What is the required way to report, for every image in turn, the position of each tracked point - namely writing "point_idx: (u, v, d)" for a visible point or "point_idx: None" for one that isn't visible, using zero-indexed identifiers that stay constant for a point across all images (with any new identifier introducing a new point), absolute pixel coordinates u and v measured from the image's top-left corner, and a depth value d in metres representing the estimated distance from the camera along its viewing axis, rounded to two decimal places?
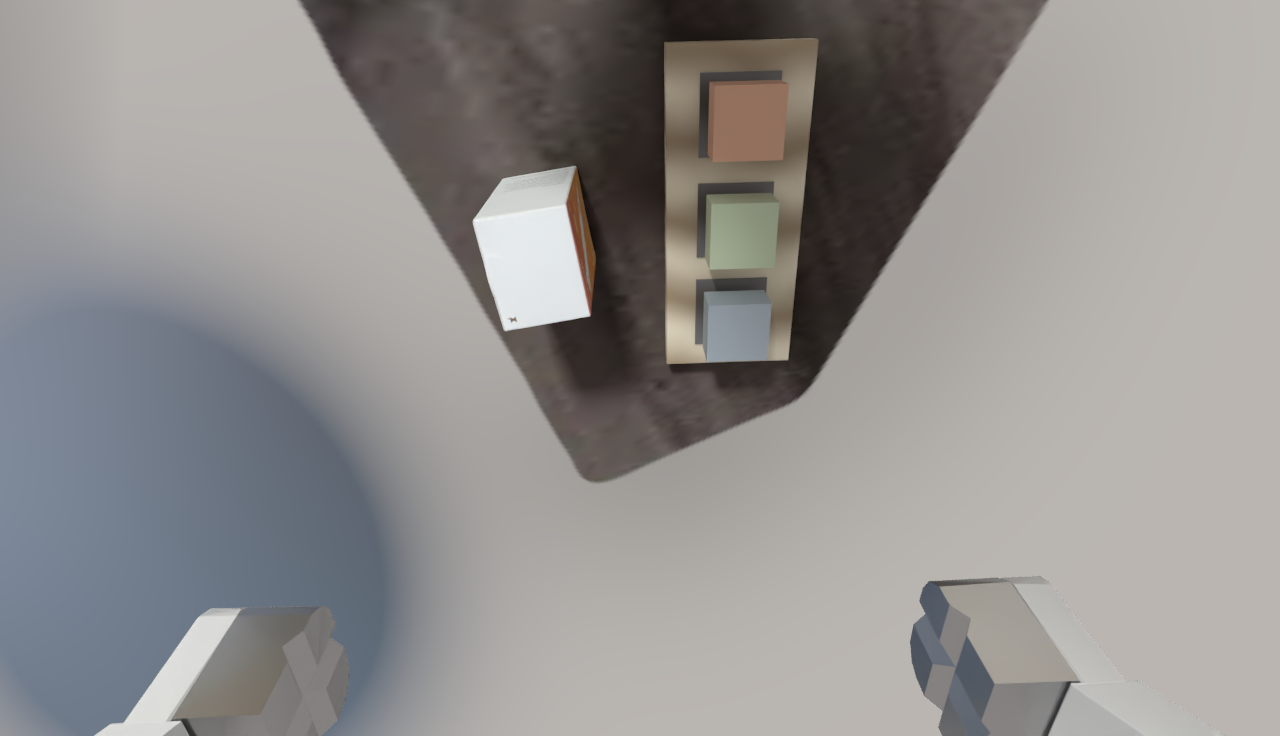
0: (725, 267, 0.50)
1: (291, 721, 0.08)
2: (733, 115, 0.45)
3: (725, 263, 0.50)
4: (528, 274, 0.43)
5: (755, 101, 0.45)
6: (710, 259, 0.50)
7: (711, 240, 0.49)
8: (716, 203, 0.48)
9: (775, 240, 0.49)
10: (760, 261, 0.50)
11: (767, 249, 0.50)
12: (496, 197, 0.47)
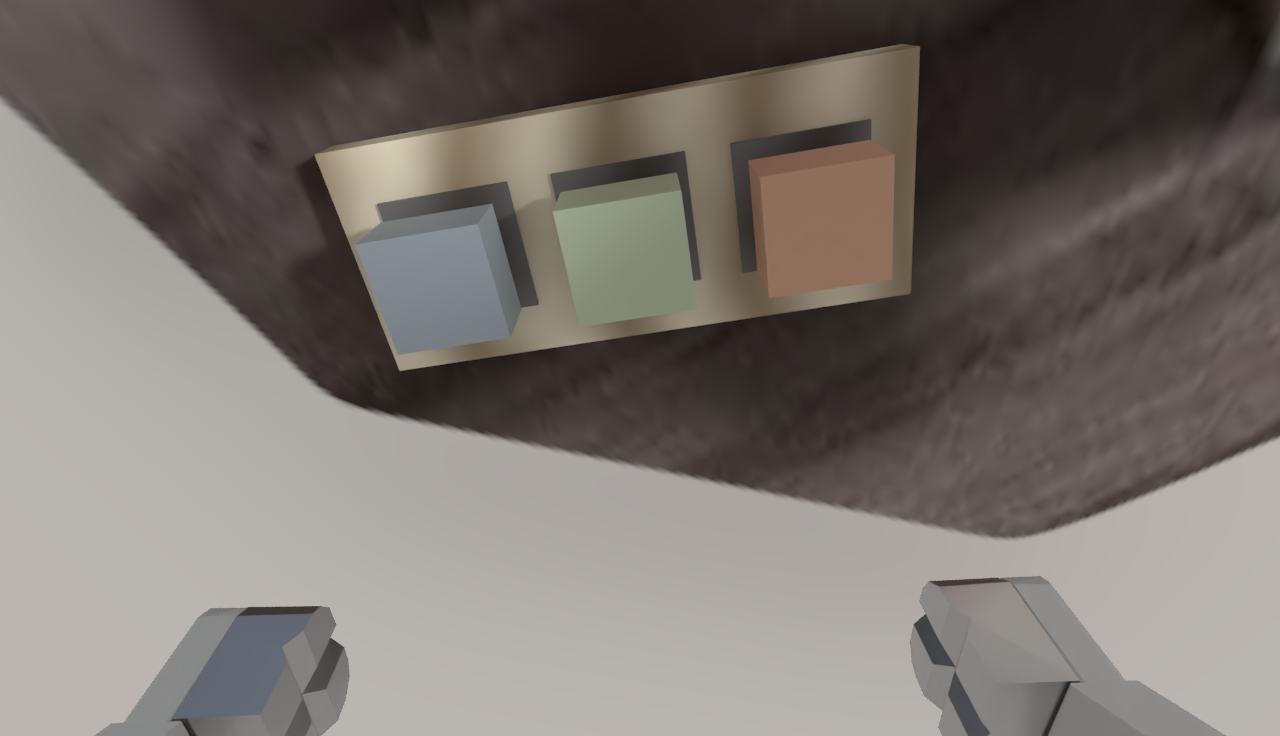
0: (563, 241, 0.26)
1: (291, 721, 0.08)
2: (843, 198, 0.25)
3: (570, 239, 0.26)
4: None
5: (865, 231, 0.26)
6: (573, 209, 0.25)
7: (611, 204, 0.25)
8: None
9: (629, 317, 0.28)
10: (586, 301, 0.27)
11: (609, 308, 0.27)
12: None
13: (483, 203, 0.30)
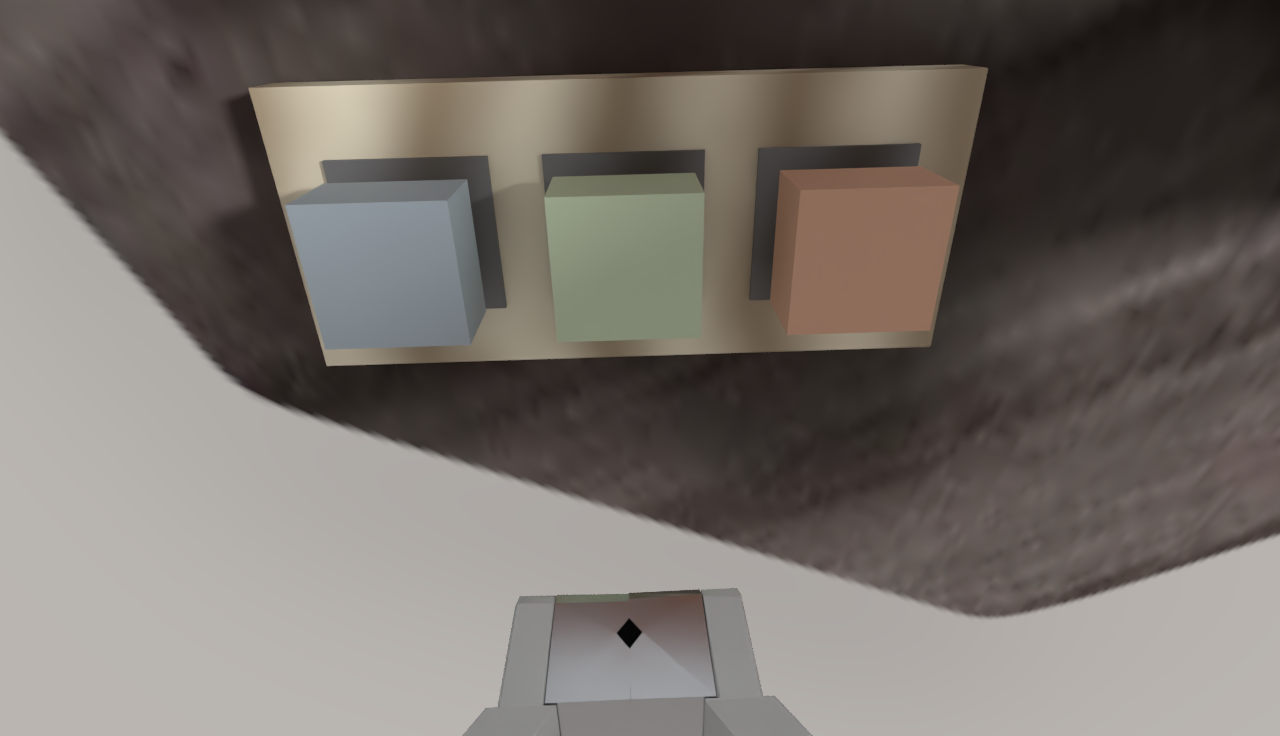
0: (551, 235, 0.21)
1: None
2: (891, 229, 0.21)
3: (561, 235, 0.21)
4: None
5: (910, 271, 0.22)
6: (569, 198, 0.21)
7: (617, 198, 0.20)
8: None
9: (618, 338, 0.23)
10: (570, 312, 0.22)
11: (597, 324, 0.23)
12: None
13: (455, 178, 0.24)
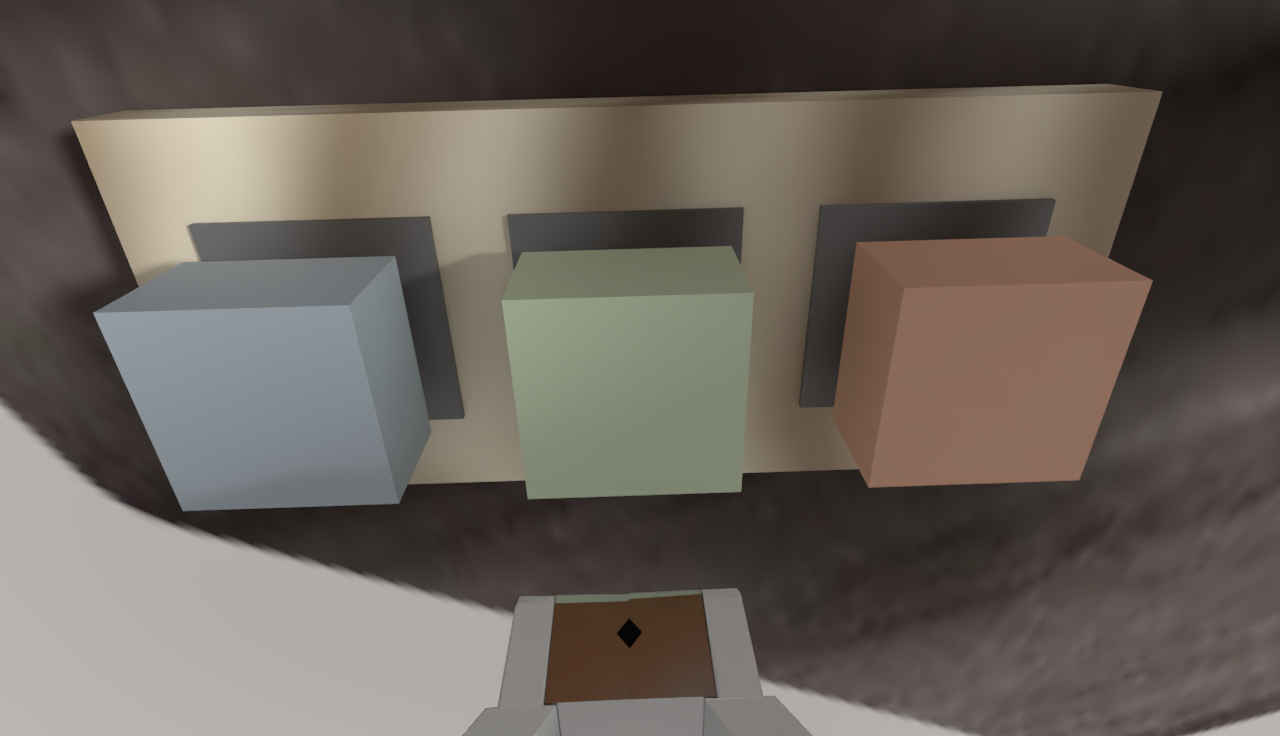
0: (515, 355, 0.14)
1: None
2: (1039, 343, 0.14)
3: (530, 354, 0.14)
4: None
5: (1060, 401, 0.14)
6: (541, 300, 0.13)
7: (617, 300, 0.13)
8: None
9: (619, 493, 0.15)
10: (545, 459, 0.15)
11: (587, 476, 0.15)
12: None
13: (384, 248, 0.17)
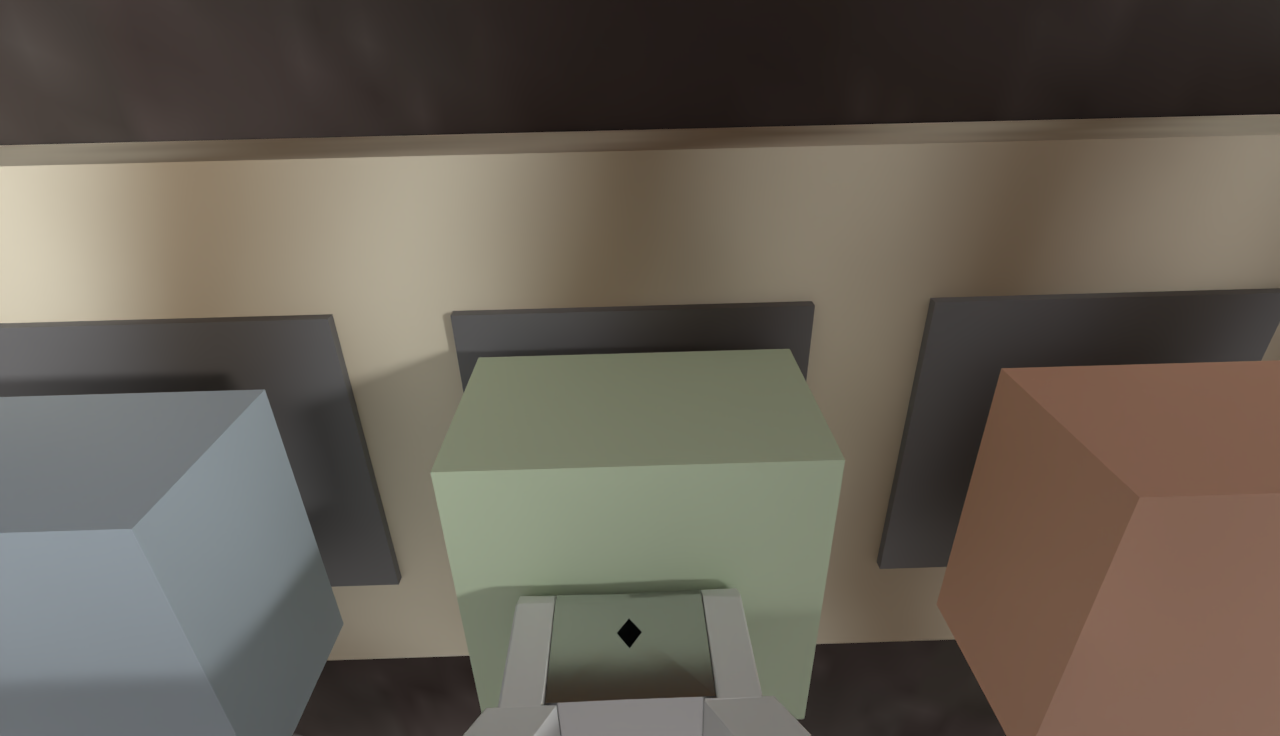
0: (456, 548, 0.08)
1: None
2: None
3: (481, 546, 0.08)
4: None
5: None
6: (497, 471, 0.08)
7: (621, 472, 0.08)
8: None
9: None
10: None
11: None
12: None
13: (263, 361, 0.11)
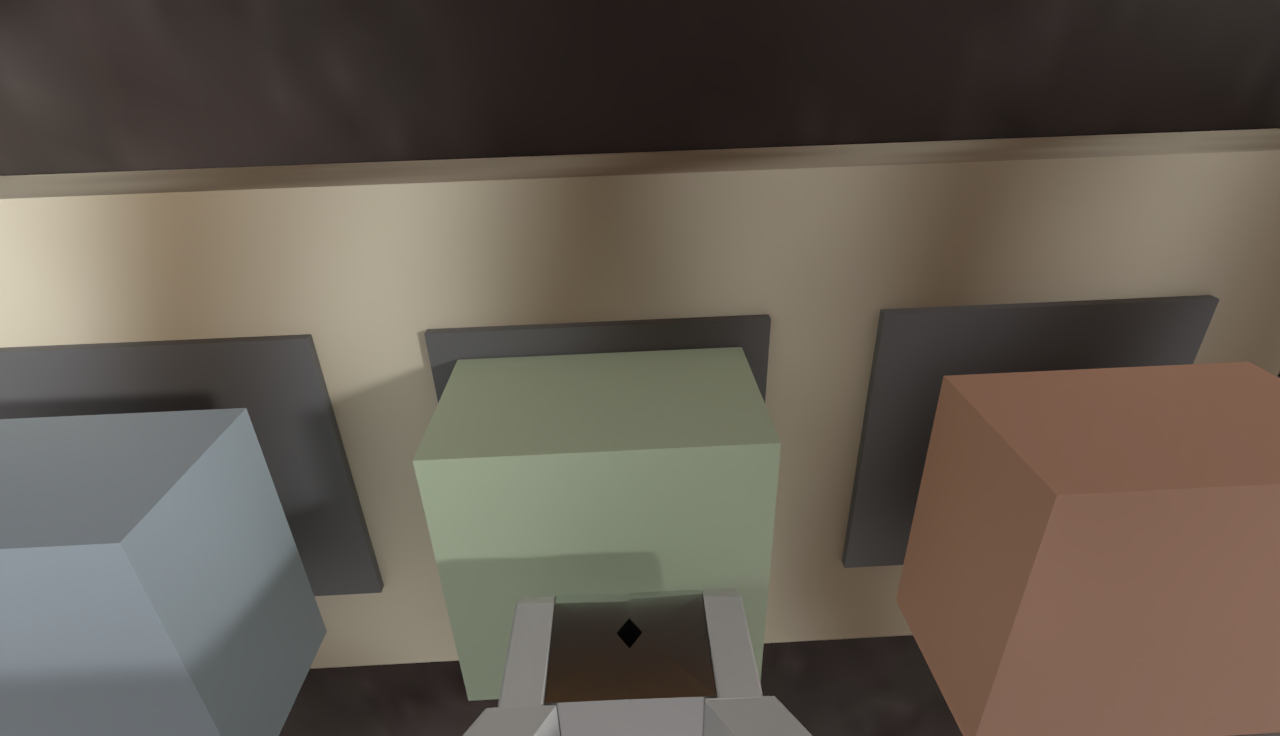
0: (437, 530, 0.09)
1: None
2: (1262, 565, 0.09)
3: (460, 528, 0.09)
4: None
5: (1276, 638, 0.09)
6: (472, 458, 0.09)
7: (582, 457, 0.09)
8: None
9: None
10: (490, 654, 0.11)
11: None
12: None
13: (246, 380, 0.12)
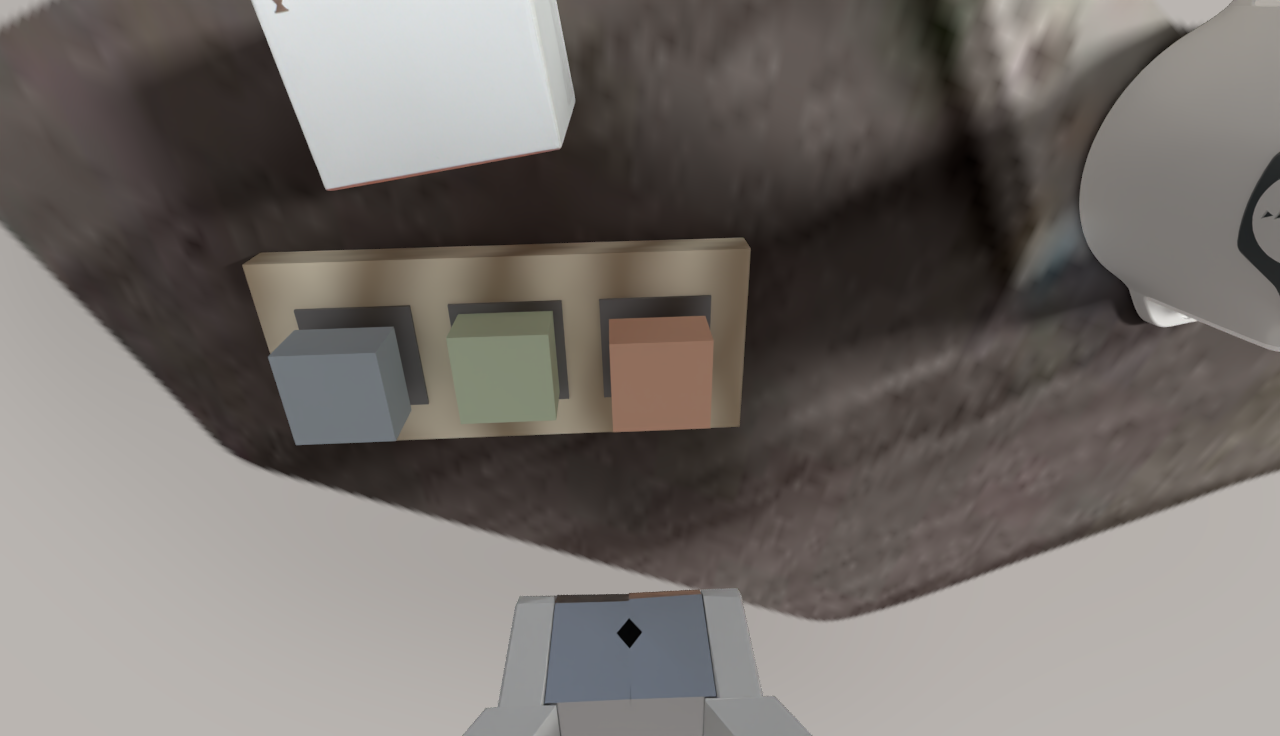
0: (452, 360, 0.33)
1: None
2: (673, 366, 0.32)
3: (458, 359, 0.33)
4: (400, 54, 0.19)
5: (690, 392, 0.33)
6: (462, 338, 0.32)
7: (493, 338, 0.32)
8: (549, 339, 0.33)
9: (501, 421, 0.35)
10: (467, 405, 0.34)
11: (486, 412, 0.34)
12: None
13: (387, 320, 0.35)
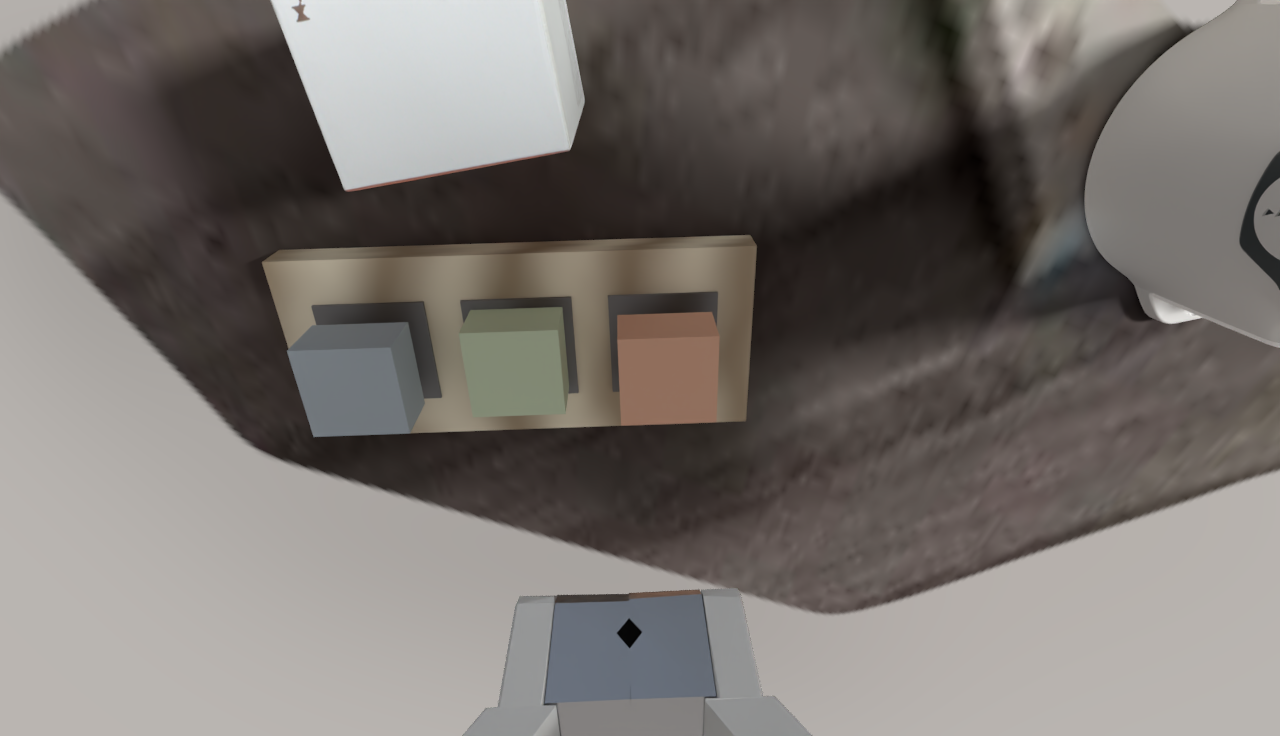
0: (464, 354, 0.34)
1: None
2: (680, 361, 0.33)
3: (471, 354, 0.34)
4: (416, 60, 0.20)
5: (696, 386, 0.33)
6: (474, 333, 0.33)
7: (504, 333, 0.33)
8: (558, 335, 0.34)
9: (512, 414, 0.35)
10: (479, 399, 0.35)
11: (497, 406, 0.35)
12: None
13: (402, 316, 0.36)
